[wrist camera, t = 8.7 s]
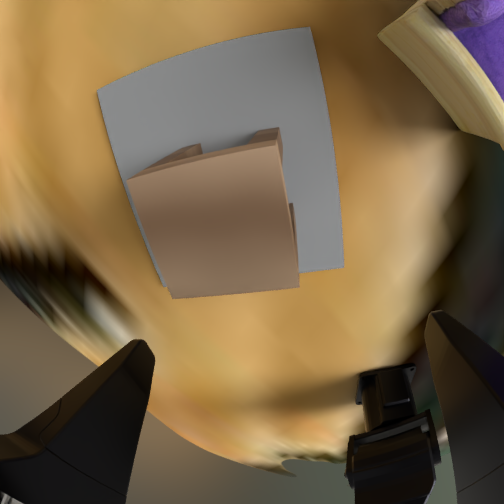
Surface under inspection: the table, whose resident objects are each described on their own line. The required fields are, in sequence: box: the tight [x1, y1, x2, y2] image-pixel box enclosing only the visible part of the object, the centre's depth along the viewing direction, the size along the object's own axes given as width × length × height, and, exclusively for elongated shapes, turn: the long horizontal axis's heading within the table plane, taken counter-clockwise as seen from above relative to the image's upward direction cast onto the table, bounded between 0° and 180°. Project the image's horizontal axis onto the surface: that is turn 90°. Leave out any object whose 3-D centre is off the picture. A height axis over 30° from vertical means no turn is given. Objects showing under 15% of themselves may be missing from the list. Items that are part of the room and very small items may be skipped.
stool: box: [126, 127, 300, 299], centre depth 14 cm, size 6×6×7 cm
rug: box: [97, 27, 344, 287], centre depth 17 cm, size 16×14×1 cm
